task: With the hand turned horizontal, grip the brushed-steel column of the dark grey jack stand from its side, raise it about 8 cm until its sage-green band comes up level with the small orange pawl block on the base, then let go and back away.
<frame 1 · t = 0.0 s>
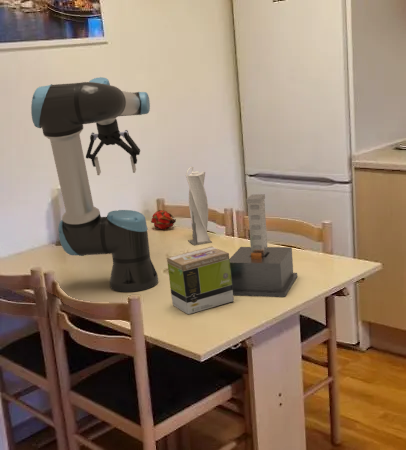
hand: (116, 172, 262), 28 cm above the table, tool tilted 20°, fingers open, 13 cm apart
stand base: (261, 285, 209), on the table
dragon fruit: (164, 229, 287), on the table
skyscraper: (200, 241, 263), on the table
column: (258, 238, 206), point 15 cm above the table, slide at 0.0 cm
tea box: (202, 304, 198), on the table
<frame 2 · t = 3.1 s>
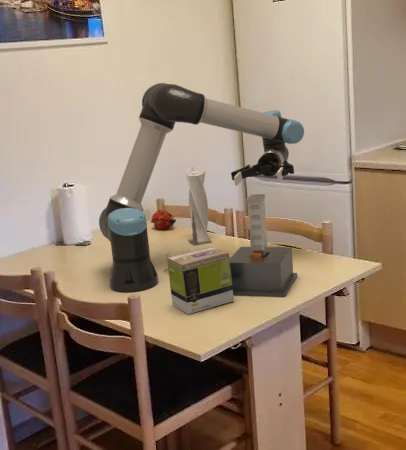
hand: (256, 179, 214), 30 cm above the table, tool horizontal, fingers open, 13 cm apart
nothing on the table moved.
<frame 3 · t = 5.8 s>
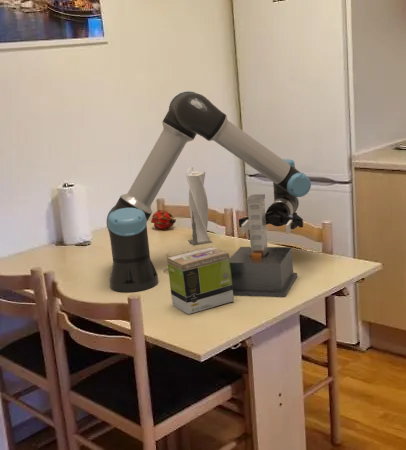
hand: (264, 229, 210), 16 cm above the table, tool horizontal, fingers open, 13 cm apart
nothing on the table moved.
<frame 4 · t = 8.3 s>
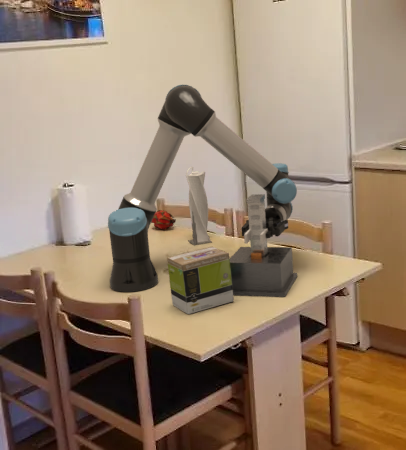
hand: (253, 239, 200), 16 cm above the table, tool horizontal, fingers closed on column, 4 cm apart
column: (258, 238, 206), point 15 cm above the table, slide at 0.0 cm, touching gripper
everything else where it was.
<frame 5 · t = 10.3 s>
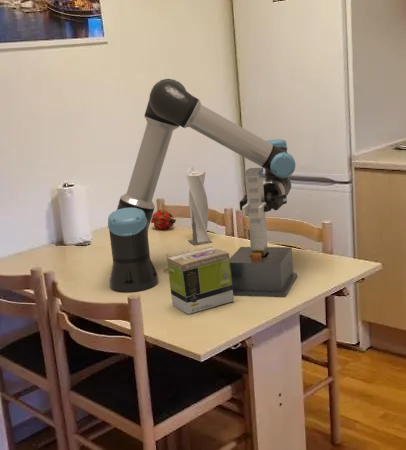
hand: (251, 212, 198), 24 cm above the table, tool horizontal, fingers closed on column, 4 cm apart
column: (256, 212, 204), point 23 cm above the table, slide at 7.9 cm, touching gripper
everything else where it was.
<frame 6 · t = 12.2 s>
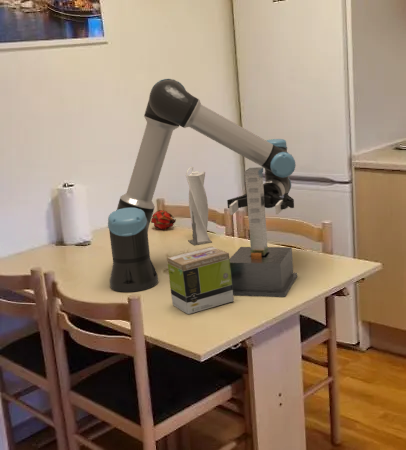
hand: (253, 210, 200), 24 cm above the table, tool horizontal, fingers open, 13 cm apart
column: (256, 212, 204), point 23 cm above the table, slide at 8.0 cm
everything else where it was.
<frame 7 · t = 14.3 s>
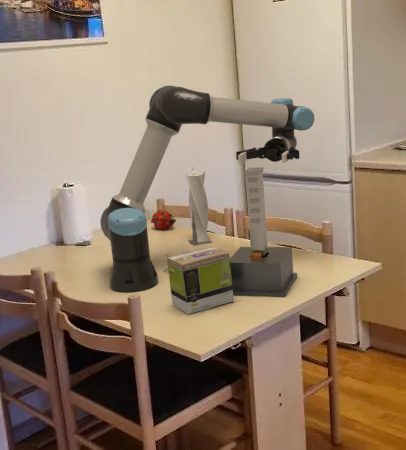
hand: (261, 159, 212), 36 cm above the table, tool horizontal, fingers open, 13 cm apart
nothing on the table moved.
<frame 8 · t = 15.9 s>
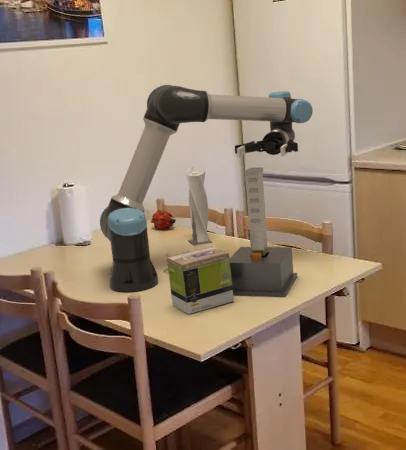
hand: (259, 152, 212), 38 cm above the table, tool horizontal, fingers open, 13 cm apart
nothing on the table moved.
at the end: column slide at 8.0 cm; the gripper is holding nothing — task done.
